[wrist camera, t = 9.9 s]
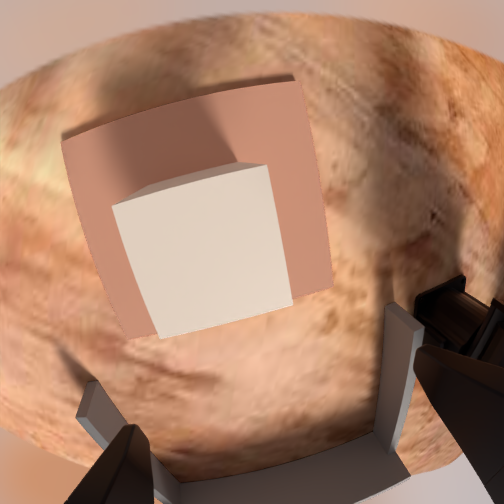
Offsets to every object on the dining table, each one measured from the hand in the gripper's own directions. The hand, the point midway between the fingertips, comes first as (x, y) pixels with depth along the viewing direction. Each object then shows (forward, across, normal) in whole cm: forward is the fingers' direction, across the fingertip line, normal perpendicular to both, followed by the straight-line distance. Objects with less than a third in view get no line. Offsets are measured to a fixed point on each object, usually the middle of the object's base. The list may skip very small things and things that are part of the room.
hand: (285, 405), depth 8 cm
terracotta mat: (+11, +1, -4) cm, 12 cm away
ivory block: (+10, +1, -4) cm, 11 cm away
